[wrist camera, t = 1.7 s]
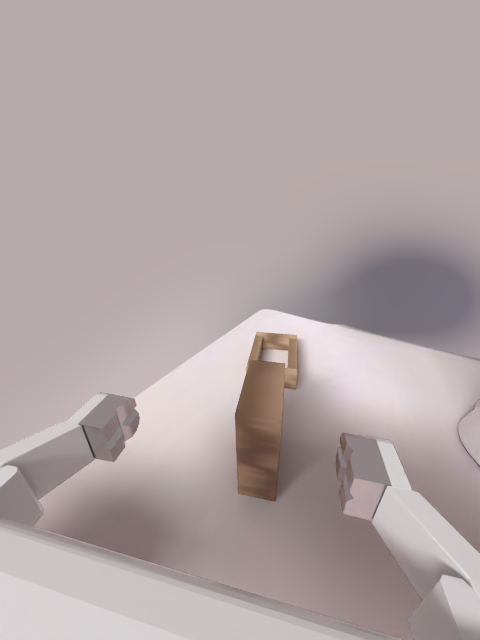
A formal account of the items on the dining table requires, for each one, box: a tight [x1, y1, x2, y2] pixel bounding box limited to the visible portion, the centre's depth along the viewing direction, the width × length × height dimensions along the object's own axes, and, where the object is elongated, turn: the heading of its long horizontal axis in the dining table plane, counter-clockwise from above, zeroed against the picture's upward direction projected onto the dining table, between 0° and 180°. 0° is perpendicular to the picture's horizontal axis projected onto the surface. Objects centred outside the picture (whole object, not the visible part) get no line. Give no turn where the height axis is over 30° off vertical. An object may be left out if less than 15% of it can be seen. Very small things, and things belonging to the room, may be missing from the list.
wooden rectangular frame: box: [246, 332, 298, 389], centre depth 46 cm, size 8×13×3 cm, turn 168°
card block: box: [235, 360, 285, 501], centre depth 26 cm, size 4×8×12 cm, turn 168°
